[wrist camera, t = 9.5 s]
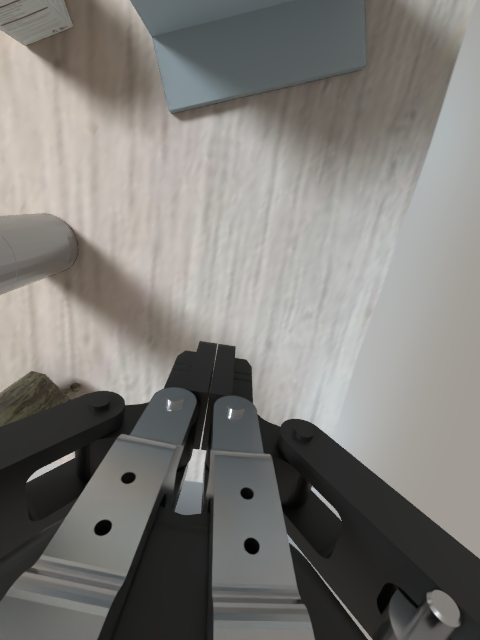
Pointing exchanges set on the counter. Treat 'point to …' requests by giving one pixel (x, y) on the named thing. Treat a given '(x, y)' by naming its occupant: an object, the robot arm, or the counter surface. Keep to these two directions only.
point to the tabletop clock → (31, 397)
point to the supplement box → (33, 19)
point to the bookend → (250, 45)
